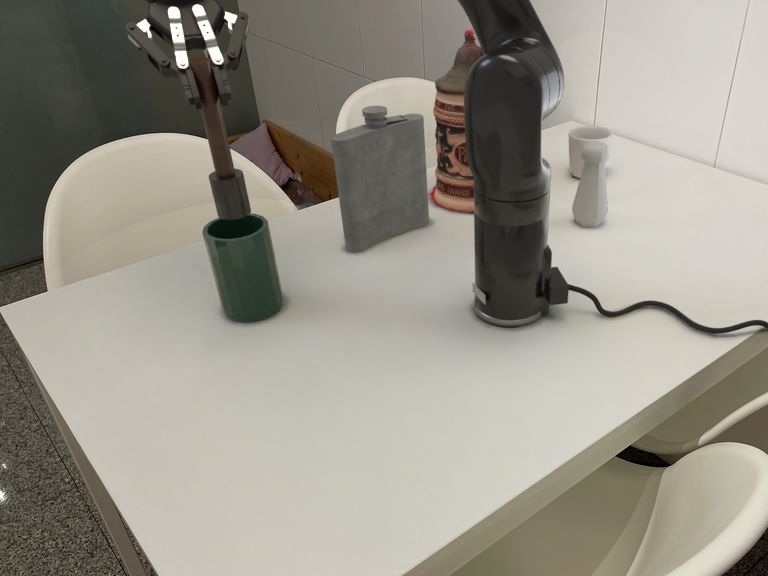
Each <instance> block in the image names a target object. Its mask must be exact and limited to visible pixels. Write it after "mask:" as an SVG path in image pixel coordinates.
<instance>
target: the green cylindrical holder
mask: <svg viewBox="0 0 768 576" xmlns="http://www.w3.org/2000/svg"><path fill="white" fill-rule="evenodd" d="M201 234H202V237H203V241H204V245H205V249H206V252H207V256H208V260H209V263H210V267H211V271H212V275H213V278H214V283H215V286H216V291H217V293H218V298H219V300H220V301H219V302H220V304H221V308H222V310H223V314H224V316H225V317H226V318H227V319H228V320H231V321H233V322H237V323H255V322H260V321H264V320H267V319H270V318H272V317H273V316H275V315H276V314H278V313H279V312H280V311H281V310H282V309H283V307H284V305H285V301H284V296H283V289H282V284H281V280H280V275H279V270H278V264H277V259H276V254H275V249H274V245H273V239H272V235H271V230H270V225H269V221H268V219H267V218H266V217H264V215H260V214H257V213H252V212H251V213H250V214H249V215H247V216H246V217H243V218H240V219H235V220H225V219H221V218H219V217H217V218H214V219H212V220H211V221H209V222H208V223H206V224H205V225H204V226H203V228H202V233H201Z"/></svg>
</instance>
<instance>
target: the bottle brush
mask: <svg viewBox="0 0 768 576" xmlns="http://www.w3.org/2000/svg"><path fill="white" fill-rule="evenodd" d="M188 63H189V67H190V69H192V71H193V74H194V78H195V81H196V85H197V88H198V91H199V95H200V98H201V104H202V109H200V112H201V117H202V121H203V125H204V129H205V134H206V138H207V142H208V147H209V150H210V154H211V160H212V164H213V169H214V170H213V171H212V172H211V173H209V174H208V180H209V185H210V189H211V193H212V198H213V201H214V205H215V210H216V214H217V218H221V219H225V220H235V219H240V218H243V217H246V216H247V215H249V214H250V213H251V214H252V208H251V204H250V200H249V194H248V189H247V184H246V180H245V174H244V171H243V170H242V169H239V168H235V164H234V160H233V157H232V151H231V146H230V143H229V139H228V134H227V128H226V124H225V120H224V114H223V110H222V106H221V103H220V100H219V97H218V92H217V88H216V83H215V79H214V74H213V69H212V64H211V60H210V59H209V58H206V57H195V58H191V59H190V60H188Z"/></svg>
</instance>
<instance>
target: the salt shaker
mask: <svg viewBox="0 0 768 576" xmlns="http://www.w3.org/2000/svg"><path fill="white" fill-rule="evenodd" d="M581 157H582V159H583V160H584V161H585V162H584V166H583V169H582V173H581V177H580V178H579V180H578V185H577V189H576V192H575V196H574V199H573V202H572V206H571V211H572V215H573V217H574V220H575V223H576V224H578V225H580V226H582V227H585V228H586V227H587V228H596V227H598V226H600V225H602V224H603V222H604V220H605V219H606V216H607V214H608V211H609V205H608V193H607V190H608V189H607V177H606V170H605V161H607V160H608V161H609V158H610V152H609V147H608V146H607V145H606V144H605V143H602V142H589V143H586V144H585V145H584V146H583V147H582V152H581Z"/></svg>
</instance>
